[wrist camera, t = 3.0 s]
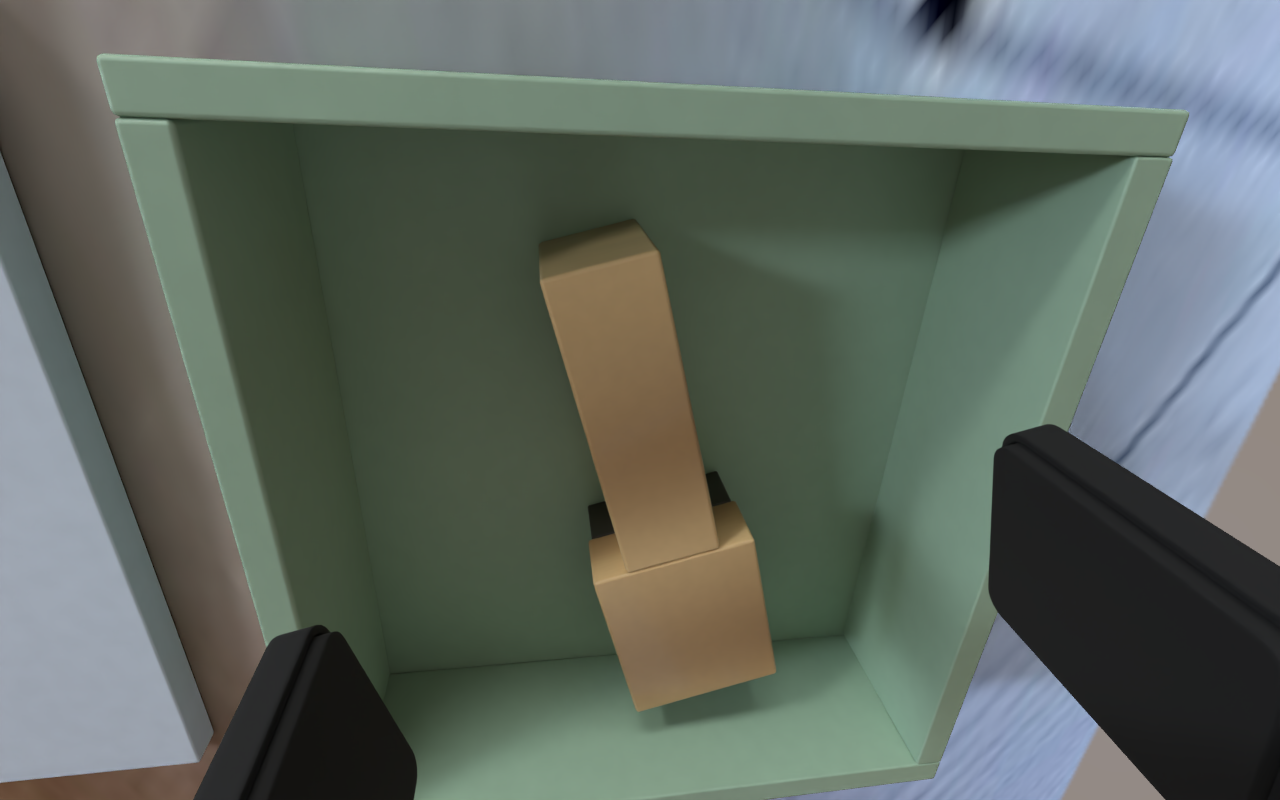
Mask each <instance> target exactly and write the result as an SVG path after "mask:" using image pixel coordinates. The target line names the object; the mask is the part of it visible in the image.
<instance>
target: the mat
mask: <svg viewBox="0 0 1280 800" xmlns="http://www.w3.org/2000/svg"><path fill="white" fill-rule="evenodd" d="M213 733H214V731H213V728H212V725H211V723H210V720H209V717H208V715H207V712H206V709H205V706H204V704H203V701H202V698H201V696H200V693H199V690H198V687H197V685H196V682H195V679H194V677H193V674H192V671H191V668H190V666H189V663H188V660H187V658H186V655H185V652H184V649H183V647H182V644H181V641H180V639H179V636H178V633H177V630H176V628H175V625H174V622H173V620H172V617H171V614H170V611H169V609H168V606H167V603H166V600H165V598H164V595H163V592H162V590H161V587H160V584H159V581H158V579H157V576H156V573H155V571H154V568H153V565H152V562H151V560H150V557H149V554H148V552H147V549H146V546H145V543H144V541H143V538H142V535H141V533H140V530H139V527H138V524H137V522H136V519H135V516H134V514H133V511H132V508H131V505H130V503H129V500H128V497H127V495H126V492H125V489H124V486H123V484H122V481H121V478H120V476H119V473H118V470H117V467H116V465H115V462H114V459H113V457H112V454H111V451H110V448H109V446H108V443H107V440H106V437H105V435H104V432H103V429H102V427H101V424H100V421H99V418H98V416H97V413H96V410H95V408H94V405H93V402H92V399H91V397H90V394H89V391H88V389H87V386H86V383H85V380H84V378H83V375H82V372H81V370H80V367H79V364H78V361H77V359H76V356H75V353H74V351H73V348H72V345H71V342H70V340H69V337H68V334H67V332H66V329H65V326H64V323H63V321H62V318H61V315H60V313H59V310H58V307H57V304H56V302H55V299H54V296H53V293H52V291H51V288H50V285H49V283H48V280H47V277H46V274H45V272H44V269H43V266H42V264H41V261H40V258H39V255H38V253H37V250H36V247H35V245H34V242H33V239H32V236H31V234H30V231H29V228H28V226H27V223H26V220H25V217H24V215H23V212H22V209H21V207H20V204H19V201H18V198H17V196H16V193H15V190H14V188H13V185H12V182H11V179H10V177H9V174H8V171H7V169H6V166H5V163H4V160H3V158H2V155H1V152H0V783H2V782H12V781H22V780H32V779H41V778H51V777H61V776H71V775H80V774H90V773H100V772H110V771H119V770H129V769H139V768H149V767H158V766H168V765H178V764H188V763H197V762H199V761H200V760H201V758H202V756H203V754H204V752H205V750H206V748H207V746H208V744H209V742H210V740H211V738H212V735H213Z"/></svg>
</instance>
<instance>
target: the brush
mask: <svg viewBox="0 0 1280 800" xmlns="http://www.w3.org/2000/svg"><path fill="white" fill-rule="evenodd" d="M539 272H540V286H541V289H542V292H543V296H544V299H545V302H546V306H547V309H548V312H549V316H550V319H551V322H552V326H553V329H554V332H555V336H556V339H557V342H558V345H559V349H560V352H561V355H562V359H563V362H564V365H565V369H566V372H567V375H568V379H569V382H570V385H571V389H572V392H573V395H574V399H575V402H576V405H577V409H578V412H579V415H580V419H581V422H582V425H583V429H584V432H585V435H586V439H587V442H588V445H589V449H590V452H591V455H592V459H593V462H594V465H595V468H596V472H597V475H598V478H599V482H600V485H601V488H602V492H603V495H604V498H605V501H603V502H600V503H596V504H592V505H589V506H588V514H589V522H590V530H591V537H592V540H590V541H589V543H588V544H589V553H590V561H591V569H592V577H593V585H594V588H595V591H596V594H597V597H598V600H599V603H600V606H601V609H602V612H603V614H604V617H605V620H606V623H607V626H608V629H609V632H610V635H611V638H612V641H613V644H614V647H615V650H616V653H617V656H618V659H619V662H620V665H621V668H622V671H623V674H624V677H625V680H626V683H627V686H628V689H629V691H630V694H631V697H632V700H633V703H634V706H635V709H636V711H637V712H640V711H644V710H648V709H651V708H655V707H658V706H662V705H665V704H669V703H672V702H676V701H679V700H683V699H686V698H690V697H693V696H697V695H700V694H704V693H708V692H711V691H715V690H718V689H722V688H725V687H729V686H732V685H736V684H739V683H743V682H746V681H750V680H753V679H757V678H761V677H764V676H768V675H771V674H775V673H776V664H775V658H774V652H773V646H772V640H771V634H770V629H769V623H768V617H767V611H766V605H765V599H764V593H763V587H762V581H761V576H760V570H759V564H758V558H757V552H756V546H755V540H754V538H753V536H752V534H751V532H750V530H749V528H748V526H747V524H746V522H745V520H744V517H743V515H742V513H741V511H740V509H739V507H738V505H737V503H736V502H735V501H731V499H730V497H729V495H728V493H727V491H726V489H725V486H724V484H723V482H722V480H721V478H720V476H719V474H718V472H717V471H714V472H710V473H707V474H705V470H704V465H703V460H702V455H701V450H700V445H699V440H698V435H697V430H696V425H695V420H694V416H693V411H692V406H691V401H690V396H689V391H688V386H687V381H686V376H685V371H684V366H683V362H682V357H681V352H680V347H679V342H678V337H677V332H676V327H675V322H674V317H673V312H672V307H671V303H670V298H669V293H668V288H667V283H666V278H665V273H664V268H663V263H662V258H661V253H660V252H659V250H658V249H657V247H656V246H655V245H654V243H653V242H652V241H651V239H650V238H649V237H648V235H647V234H646V233H645V231H644V230H643V229H642V227H641V226H640V225H639V223H638V222H637V221H636V219H630V220H626V221H622V222H618V223H614V224H611V225H607V226H603V227H599V228H595V229H591V230H587V231H583V232H579V233H575V234H571V235H567V236H563V237H560V238H556V239H552V240H548V241H544V242H541V243H540V244H539Z"/></svg>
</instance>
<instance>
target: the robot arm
mask: <svg viewBox="0 0 1280 800" xmlns="http://www.w3.org/2000/svg"><path fill="white" fill-rule="evenodd" d="M988 591H989V595H990V598H991V601H992V603H993V605H994V607H995V609H996V610H997V612H998V613H999V614H1000V615H1001V617H1002V618H1003V619H1004V620H1005V621H1006V622H1007V623H1008V624H1009V626H1010V627H1011V628H1012V629H1013V630H1014V631H1015V632H1016V633H1017V634H1018V636H1019V637H1020V638H1021V639H1022V640H1023V641H1024V642H1025V643H1026V644H1027V646H1028V647H1029V648H1030V649H1031V650H1032V651H1033V652H1034V653H1035V655H1036V656H1037V657H1038V658H1039V659H1040V660H1041V661H1042V662H1043V663H1044V665H1045V666H1046V667H1047V668H1048V669H1049V670H1050V671H1051V672H1052V674H1053V675H1054V676H1055V677H1056V678H1057V679H1058V680H1059V681H1060V682H1061V684H1062V685H1063V686H1064V687H1065V688H1066V689H1067V690H1068V691H1069V693H1070V694H1071V695H1072V696H1073V697H1074V698H1075V699H1076V700H1077V701H1078V703H1079V704H1080V705H1081V706H1082V707H1083V708H1084V709H1085V710H1086V712H1087V713H1088V714H1089V715H1090V716H1091V717H1092V718H1093V719H1094V720H1095V722H1096V723H1097V724H1098V725H1099V726H1100V727H1101V728H1102V729H1103V730H1104V732H1105V733H1106V734H1107V735H1108V736H1109V737H1110V738H1111V739H1112V741H1113V742H1114V743H1115V744H1116V745H1117V746H1118V747H1119V748H1120V749H1121V751H1122V752H1123V753H1124V754H1125V755H1126V756H1127V757H1128V758H1129V760H1130V761H1131V762H1132V763H1133V764H1134V765H1135V766H1136V767H1137V768H1138V770H1139V771H1140V772H1141V773H1142V774H1143V775H1144V776H1145V777H1146V779H1147V780H1148V781H1149V782H1150V783H1151V784H1152V785H1153V786H1154V787H1155V789H1156V790H1157V791H1158V792H1159V793H1160V794H1161V795H1162V796H1163V797H1164V799H1165V800H1280V566H1278V565H1276V564H1275V563H1273V562H1272V561H1270V560H1268V559H1267V558H1265V557H1264V556H1262V555H1261V554H1259V553H1257V552H1256V551H1254V550H1253V549H1251V548H1250V547H1248V546H1246V545H1245V544H1243V543H1241V542H1240V541H1239V540H1237V539H1235V538H1233V537H1232V536H1231V535H1229V534H1228V533H1226V532H1224V531H1223V530H1221V529H1220V528H1218V527H1216V526H1215V525H1213V524H1212V523H1210V522H1209V521H1207V520H1205V519H1204V518H1202V517H1201V516H1199V515H1198V514H1196V513H1194V512H1193V511H1191V510H1190V509H1188V508H1186V507H1185V506H1183V505H1182V504H1180V503H1179V502H1177V501H1175V500H1174V499H1172V498H1171V497H1169V496H1168V495H1166V494H1164V493H1163V492H1161V491H1160V490H1158V489H1156V488H1155V487H1153V486H1152V485H1150V484H1149V483H1147V482H1145V481H1144V480H1142V479H1141V478H1139V477H1138V476H1136V475H1134V474H1133V473H1131V472H1130V471H1128V470H1126V469H1125V468H1123V467H1122V466H1120V465H1119V464H1117V463H1115V462H1114V461H1112V460H1111V459H1109V458H1108V457H1106V456H1104V455H1103V454H1101V453H1100V452H1098V451H1096V450H1095V449H1093V448H1092V447H1090V446H1089V445H1087V444H1085V443H1084V442H1082V441H1081V440H1079V439H1078V438H1076V437H1074V436H1073V435H1071V434H1070V433H1068V432H1066V431H1065V430H1063V429H1062V428H1060V427H1058V426H1056V425H1053V424H1045V425H1042V426H1038V427H1034V428H1031V429H1027V430H1023V431H1020V432H1016V433H1012V434H1010V435H1008V436H1006V437H1005V439H1004V441H1003V444H1002V447H1001V448H999V449H997V450H996V452H995V454H994V461H993V485H992V508H991V532H990V555H989V579H988ZM416 783H417V763H416V759H415V755H414V753H413V750H412V749H411V747H410V745H409V744H408V742H407V740H406V739H405V737H404V735H403V734H402V732H401V731H400V729H399V727H398V726H397V724H396V722H395V721H394V719H393V717H392V716H391V714H390V712H389V711H388V709H387V707H386V706H385V704H384V702H383V701H382V699H381V697H380V696H379V694H378V692H377V691H376V689H375V687H374V686H373V684H372V682H371V681H370V679H369V677H368V676H367V674H366V672H365V671H364V669H363V668H362V666H361V664H360V663H359V661H358V659H357V658H356V656H355V654H354V653H353V651H352V649H351V648H350V646H349V644H348V643H347V641H346V639H345V638H344V636H343V635H342V634H341V633H340V632H338V631H334V632H330V631H329V630H328V629H327V628H326V627H325V626H323V625H314V626H311V627H307V628H304V629H300V630H296V631H293V632H289V633H285V634H282V635H278V636H276V637H275V638H273V639H272V640H271V641H270V643H269V644H268V646H267V648H266V650H265V652H264V654H263V656H262V658H261V660H260V663H259V665H258V667H257V669H256V671H255V673H254V675H253V677H252V679H251V681H250V683H249V685H248V687H247V689H246V692H245V694H244V696H243V698H242V700H241V702H240V704H239V706H238V708H237V710H236V712H235V714H234V716H233V719H232V721H231V723H230V725H229V727H228V729H227V731H226V733H225V735H224V737H223V739H222V741H221V743H220V745H219V748H218V750H217V752H216V754H215V756H214V758H213V760H212V762H211V764H210V766H209V768H208V770H207V772H206V775H205V777H204V779H203V781H202V783H201V785H200V787H199V789H198V791H197V793H196V795H195V797H194V799H193V800H414V795H415V789H416Z"/></svg>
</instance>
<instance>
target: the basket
mask: <svg viewBox="0 0 1280 800" xmlns="http://www.w3.org/2000/svg"><path fill="white" fill-rule="evenodd" d="M97 64H98V67H99V71H100V74H101V77H102V81H103V84H104V88H105V91H106V95H107V98H108V102H109V105H110V109H111V111H112V112H113V114H115V115H117V116H120V118H118V119H116V122H115V125H116V129H117V132H118V135H119V139H120V142H121V146H122V149H123V153H124V156H125V160H126V163H127V167H128V170H129V174H130V177H131V180H132V184H133V187H134V191H135V194H136V198H137V201H138V205H139V208H140V212H141V215H142V218H143V222H144V225H145V229H146V232H147V236H148V239H149V243H150V246H151V250H152V253H153V257H154V260H155V263H156V267H157V270H158V274H159V277H160V281H161V284H162V288H163V291H164V295H165V298H166V301H167V305H168V308H169V312H170V315H171V319H172V322H173V326H174V329H175V333H176V336H177V339H178V343H179V346H180V350H181V353H182V357H183V360H184V364H185V367H186V371H187V374H188V378H189V381H190V384H191V388H192V391H193V395H194V398H195V402H196V405H197V409H198V412H199V416H200V419H201V422H202V426H203V429H204V433H205V436H206V440H207V443H208V447H209V450H210V454H211V457H212V461H213V464H214V467H215V471H216V474H217V478H218V481H219V485H220V488H221V492H222V495H223V499H224V502H225V505H226V509H227V512H228V516H229V519H230V523H231V526H232V530H233V533H234V537H235V540H236V544H237V547H238V550H239V554H240V557H241V561H242V564H243V568H244V571H245V575H246V578H247V582H248V585H249V588H250V592H251V595H252V599H253V602H254V606H255V609H256V613H257V616H258V620H259V623H260V627H261V630H262V633H263V637H264V640H265V644H266V647H267V646H268V644H269V643H270V641H271V640H272V639H273V638H275V637H276V636H278V635H282V634H285V633H289V632H293V631H296V630H300V629H304V628H307V627H311V626H314V625H323V626H325V627H326V628H327V629H328V630H329V631H330V632H334V631H338V632H340V633H341V634H342V635H343V636H344V638H345V639H346V641H347V643H348V644H349V646H350V648H351V649H352V651H353V653H354V654H355V656H356V658H357V659H358V661H359V663H360V664H361V666H362V668H363V669H364V671H365V672H366V674H367V676H368V677H369V679H370V681H371V682H372V684H373V686H374V687H375V689H376V691H377V692H378V694H379V696H380V697H381V699H382V701H383V702H384V704H385V706H386V707H387V709H388V711H389V712H390V714H391V716H392V717H393V719H394V721H395V722H396V724H397V726H398V727H399V729H400V731H401V732H402V734H403V735H404V737H405V739H406V740H407V742H408V744H409V745H410V747H411V749H412V750H413V753H414V755H415V759H416V763H417V783H416V789H415V795H414V800H766V799H774V798H782V797H790V796H797V795H805V794H813V793H821V792H829V791H837V790H845V789H853V788H861V787H869V786H876V785H884V784H892V783H900V782H908V781H916V780H924V779H932V778H934V776H935V774H936V771H937V768H938V766H939V761H941V758H942V756H943V753H944V750H945V748H946V745H947V743H948V740H949V737H950V735H951V732H952V730H953V727H954V724H955V722H956V719H957V717H958V714H959V712H960V709H961V706H962V704H963V701H964V699H965V696H966V693H967V691H968V688H969V686H970V683H971V681H972V678H973V675H974V673H975V670H976V668H977V665H978V662H979V660H980V657H981V655H982V652H983V650H984V647H985V644H986V642H987V639H988V637H989V634H990V631H991V629H992V626H993V624H994V621H995V618H996V616H997V613H998V612H997V610H996V609H995V607H994V605H993V603H992V601H991V598H990V595H989V591H988V579H989V555H990V532H991V508H992V485H993V461H994V454H995V452H996V450H997V449H999V448H1001V447H1002V444H1003V441H1004V439H1005V437H1006V436H1008V435H1010V434H1012V433H1016V432H1020V431H1023V430H1027V429H1031V428H1034V427H1038V426H1042V425H1045V424H1053V425H1056V426H1058V427H1060V428H1062V429H1063V430H1065V431H1066V432H1068V430H1069V427H1070V425H1071V422H1072V419H1073V417H1074V414H1075V412H1076V409H1077V406H1078V404H1079V401H1080V399H1081V396H1082V394H1083V391H1084V388H1085V386H1086V383H1087V381H1088V378H1089V375H1090V373H1091V370H1092V368H1093V365H1094V362H1095V360H1096V357H1097V355H1098V352H1099V350H1100V347H1101V344H1102V342H1103V339H1104V337H1105V334H1106V331H1107V329H1108V326H1109V324H1110V321H1111V319H1112V316H1113V313H1114V311H1115V308H1116V306H1117V303H1118V300H1119V298H1120V295H1121V293H1122V290H1123V288H1124V285H1125V282H1126V280H1127V277H1128V275H1129V272H1130V269H1131V267H1132V264H1133V262H1134V259H1135V256H1136V254H1137V251H1138V249H1139V246H1140V244H1141V241H1142V238H1143V236H1144V233H1145V231H1146V228H1147V225H1148V223H1149V220H1150V218H1151V215H1152V213H1153V210H1154V207H1155V205H1156V202H1157V200H1158V197H1159V194H1160V192H1161V189H1162V187H1163V184H1164V181H1165V179H1166V176H1167V174H1168V171H1169V169H1170V166H1171V163H1172V159H1171V158H1169V156H1172V155H1173V154H1174V153H1175V151H1176V148H1177V146H1178V143H1179V140H1180V138H1181V135H1182V133H1183V130H1184V127H1185V125H1186V122H1187V120H1188V117H1189V112H1187V111H1186V110H1176V109H1157V108H1137V107H1118V106H1099V105H1080V104H1061V103H1042V102H1022V101H1003V100H984V99H965V98H946V97H927V96H907V95H888V94H869V93H850V92H831V91H812V90H792V89H773V88H754V87H735V86H716V85H696V84H677V83H658V82H639V81H620V80H601V79H581V78H562V77H543V76H524V75H505V74H486V73H466V72H447V71H428V70H409V69H390V68H371V67H351V66H332V65H313V64H294V63H275V62H255V61H236V60H217V59H198V58H179V57H160V56H140V55H121V54H100V55H98V56H97ZM630 219H636V221H637V222H638V223H639V225H640V226H641V227H642V229H643V230H644V231H645V233H646V234H647V235H648V237H649V238H650V239H651V241H652V242H653V243H654V245H655V246H656V247H657V249H658V250H659V252H660V253H661V258H662V263H663V268H664V273H665V278H666V283H667V288H668V293H669V298H670V303H671V307H672V312H673V317H674V322H675V327H676V332H677V337H678V342H679V347H680V352H681V357H682V362H683V366H684V371H685V376H686V381H687V386H688V391H689V396H690V401H691V406H692V411H693V416H694V420H695V425H696V430H697V435H698V440H699V445H700V450H701V455H702V460H703V465H704V470H705V474H707V473H710V472H714V471H717V472H718V474H719V476H720V478H721V480H722V482H723V484H724V486H725V489H726V491H727V493H728V495H729V497H730V499H731V501H735V502H736V503H737V505H738V507H739V509H740V511H741V513H742V515H743V517H744V520H745V522H746V524H747V526H748V528H749V530H750V532H751V534H752V536H753V538H754V540H755V546H756V552H757V558H758V564H759V570H760V576H761V581H762V587H763V593H764V599H765V605H766V611H767V617H768V623H769V629H770V634H771V640H772V646H773V652H774V658H775V664H776V673H775V674H771V675H768V676H764V677H761V678H757V679H753V680H750V681H746V682H743V683H739V684H736V685H732V686H729V687H725V688H722V689H718V690H715V691H711V692H708V693H704V694H700V695H697V696H693V697H690V698H686V699H683V700H679V701H676V702H672V703H669V704H665V705H662V706H658V707H655V708H651V709H648V710H644V711H640V712H637V711H636V709H635V706H634V703H633V700H632V697H631V694H630V691H629V689H628V686H627V683H626V680H625V677H624V674H623V671H622V668H621V665H620V662H619V659H618V656H617V653H616V650H615V647H614V644H613V641H612V638H611V635H610V632H609V629H608V626H607V623H606V620H605V617H604V614H603V612H602V609H601V606H600V603H599V600H598V597H597V594H596V591H595V588H594V585H593V577H592V569H591V561H590V553H589V544H588V543H589V541H590V540H592V537H591V530H590V522H589V514H588V506H589V505H592V504H596V503H600V502H603V501H605V498H604V495H603V492H602V488H601V485H600V482H599V478H598V475H597V472H596V468H595V465H594V462H593V459H592V455H591V452H590V449H589V445H588V442H587V439H586V435H585V432H584V429H583V425H582V422H581V419H580V415H579V412H578V409H577V405H576V402H575V399H574V395H573V392H572V389H571V385H570V382H569V379H568V375H567V372H566V369H565V365H564V362H563V359H562V355H561V352H560V349H559V345H558V342H557V339H556V336H555V332H554V329H553V326H552V322H551V319H550V316H549V312H548V309H547V306H546V302H545V299H544V296H543V292H542V289H541V286H540V272H539V244H540V243H541V242H544V241H548V240H552V239H556V238H560V237H563V236H567V235H571V234H575V233H579V232H583V231H587V230H591V229H595V228H599V227H603V226H607V225H611V224H614V223H618V222H622V221H626V220H630Z"/></svg>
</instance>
